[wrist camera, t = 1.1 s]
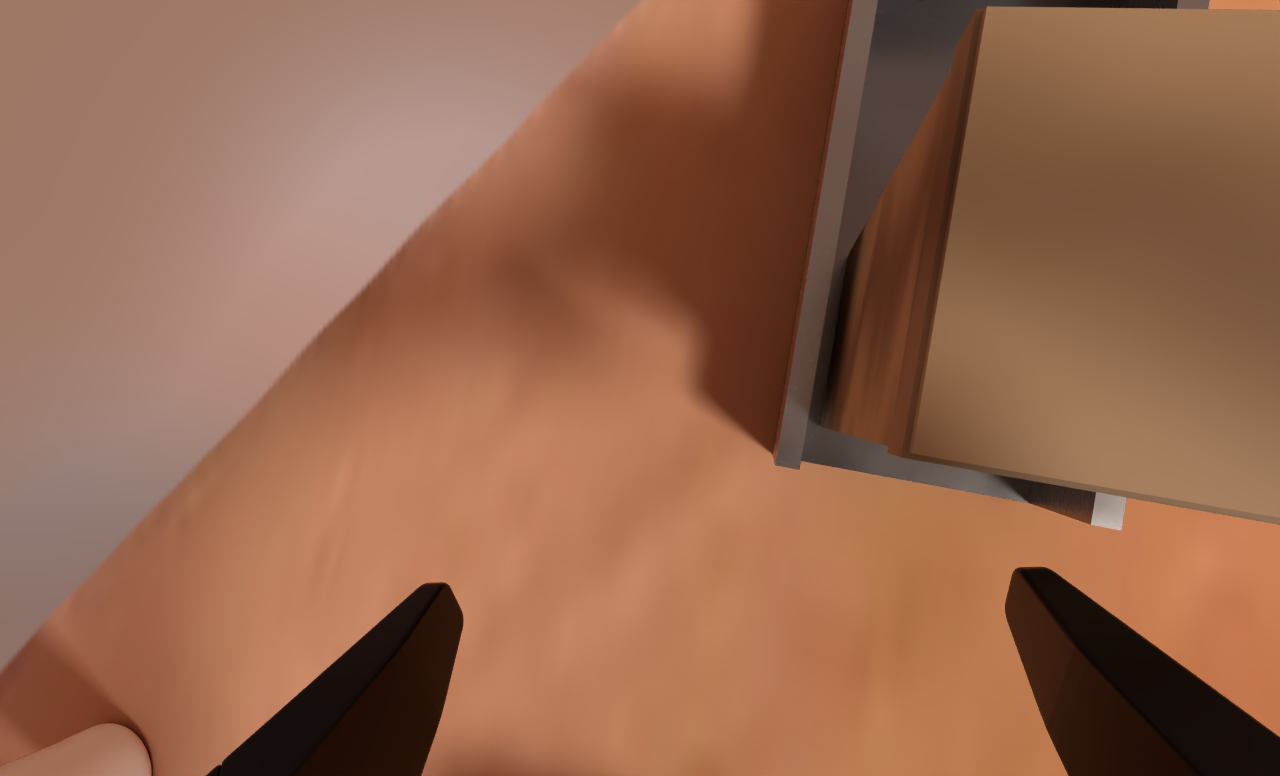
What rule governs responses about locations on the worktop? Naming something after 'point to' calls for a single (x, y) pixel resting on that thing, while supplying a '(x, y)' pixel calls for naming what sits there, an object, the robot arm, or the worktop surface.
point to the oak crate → (1082, 262)
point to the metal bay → (847, 194)
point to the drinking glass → (87, 755)
